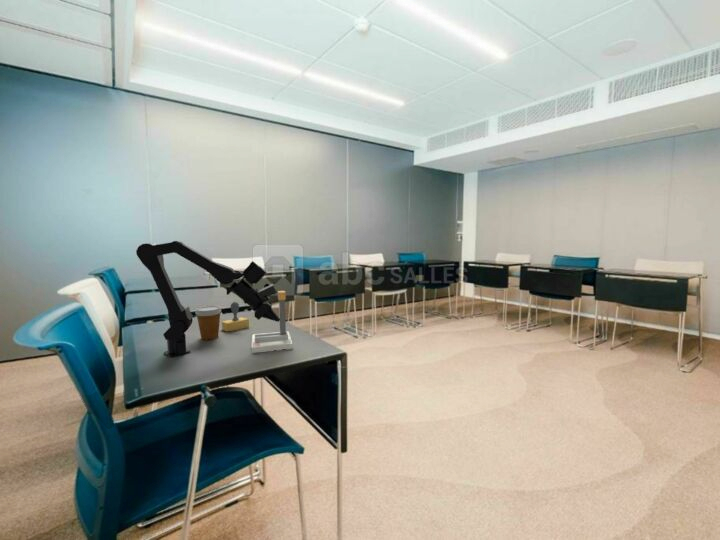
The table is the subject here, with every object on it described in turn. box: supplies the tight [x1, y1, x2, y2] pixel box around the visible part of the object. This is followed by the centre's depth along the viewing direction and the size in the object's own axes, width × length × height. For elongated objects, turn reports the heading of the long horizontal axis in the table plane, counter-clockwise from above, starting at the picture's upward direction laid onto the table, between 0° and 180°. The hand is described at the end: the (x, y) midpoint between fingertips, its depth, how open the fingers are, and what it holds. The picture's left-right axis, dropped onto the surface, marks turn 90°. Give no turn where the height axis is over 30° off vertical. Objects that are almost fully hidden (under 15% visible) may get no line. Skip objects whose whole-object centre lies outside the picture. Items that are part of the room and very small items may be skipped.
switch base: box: [251, 330, 293, 354], centre depth 125 cm, size 14×16×4 cm
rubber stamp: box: [221, 301, 250, 332], centre depth 146 cm, size 10×6×12 cm, turn 140°
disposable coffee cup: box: [194, 305, 222, 341], centre depth 133 cm, size 10×10×12 cm
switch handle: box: [277, 290, 287, 335], centre depth 126 cm, size 3×3×18 cm
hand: (279, 320), depth 126 cm, fingers closed, pressing on switch handle
